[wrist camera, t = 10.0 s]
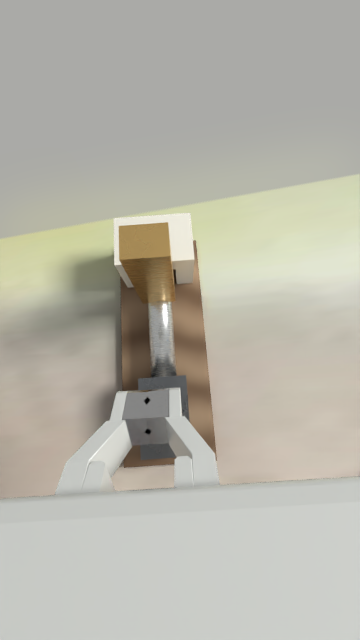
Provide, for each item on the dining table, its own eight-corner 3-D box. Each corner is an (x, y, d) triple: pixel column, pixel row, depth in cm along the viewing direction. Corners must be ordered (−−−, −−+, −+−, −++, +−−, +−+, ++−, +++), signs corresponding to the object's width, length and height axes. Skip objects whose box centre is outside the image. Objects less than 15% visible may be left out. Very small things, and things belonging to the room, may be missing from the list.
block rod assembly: (181, 381, 31) (179, 381, 17) (148, 383, 31) (121, 385, 17) (172, 252, 35) (164, 170, 22) (143, 254, 35) (117, 173, 22)
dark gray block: (190, 444, 30) (192, 456, 25) (147, 447, 30) (140, 460, 25) (185, 375, 32) (186, 375, 27) (145, 378, 32) (138, 378, 27)
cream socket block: (192, 282, 35) (194, 259, 28) (127, 287, 35) (114, 265, 28) (189, 244, 36) (190, 212, 30) (126, 248, 36) (113, 218, 30)
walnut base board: (215, 458, 31) (216, 460, 30) (125, 464, 31) (123, 467, 30) (195, 244, 38) (195, 240, 37) (121, 249, 38) (120, 246, 37)
